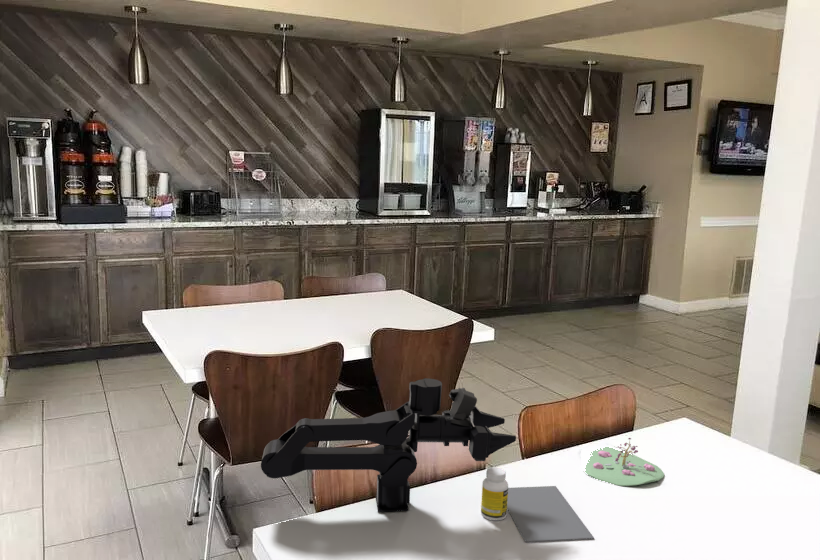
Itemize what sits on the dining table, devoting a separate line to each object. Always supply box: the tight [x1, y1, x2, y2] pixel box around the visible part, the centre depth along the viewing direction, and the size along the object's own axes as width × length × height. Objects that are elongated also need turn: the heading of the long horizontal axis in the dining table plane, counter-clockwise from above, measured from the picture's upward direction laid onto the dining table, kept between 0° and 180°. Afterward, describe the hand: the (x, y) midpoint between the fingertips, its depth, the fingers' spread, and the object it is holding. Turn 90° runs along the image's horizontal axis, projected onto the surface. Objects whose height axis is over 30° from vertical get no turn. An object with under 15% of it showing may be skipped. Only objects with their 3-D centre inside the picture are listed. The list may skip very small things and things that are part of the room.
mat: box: [507, 485, 595, 543], centre depth 141 cm, size 14×22×1 cm, turn 7°
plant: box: [584, 437, 665, 487], centre depth 165 cm, size 25×21×9 cm
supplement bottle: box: [480, 466, 509, 521], centre depth 138 cm, size 5×5×10 cm
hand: (509, 429), depth 143 cm, fingers open, 9 cm apart
